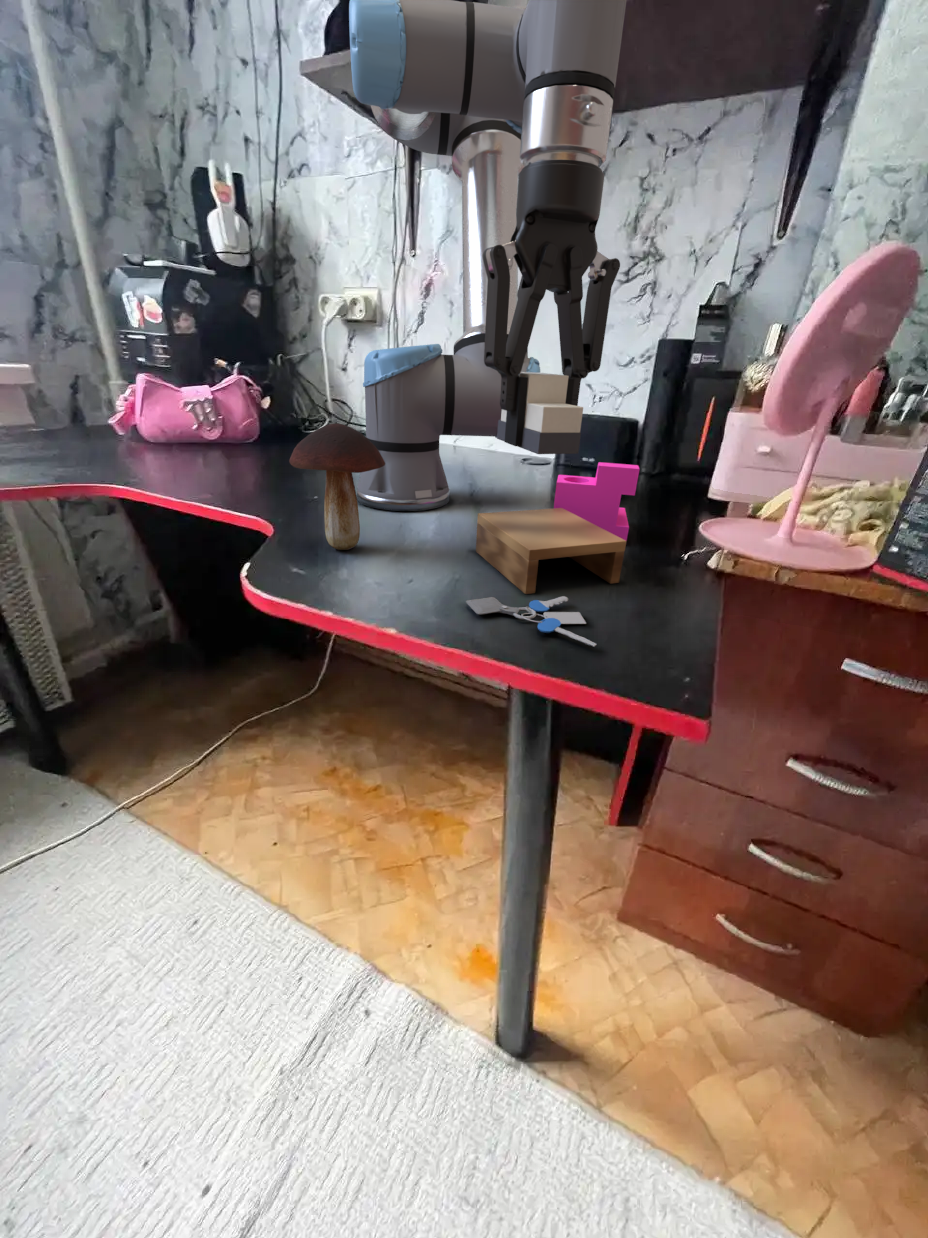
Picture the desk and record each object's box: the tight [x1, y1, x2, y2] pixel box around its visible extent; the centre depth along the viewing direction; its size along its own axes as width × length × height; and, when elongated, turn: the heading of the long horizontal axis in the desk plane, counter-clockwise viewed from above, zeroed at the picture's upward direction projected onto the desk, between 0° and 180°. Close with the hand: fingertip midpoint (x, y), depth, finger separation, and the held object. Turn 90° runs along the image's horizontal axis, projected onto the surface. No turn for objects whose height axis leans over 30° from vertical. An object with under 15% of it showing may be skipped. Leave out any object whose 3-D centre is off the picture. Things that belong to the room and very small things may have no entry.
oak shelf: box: [475, 507, 627, 595], centre depth 65 cm, size 14×12×5 cm
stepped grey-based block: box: [496, 372, 584, 455], centre depth 57 cm, size 10×5×7 cm, turn 21°
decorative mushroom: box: [288, 422, 385, 551], centre depth 65 cm, size 11×11×15 cm
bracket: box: [553, 461, 640, 542], centre depth 78 cm, size 12×10×10 cm
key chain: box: [465, 595, 597, 648], centre depth 53 cm, size 14×8×1 cm, turn 60°
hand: (535, 443), depth 58 cm, fingers closed on stepped grey-based block, 5 cm apart
